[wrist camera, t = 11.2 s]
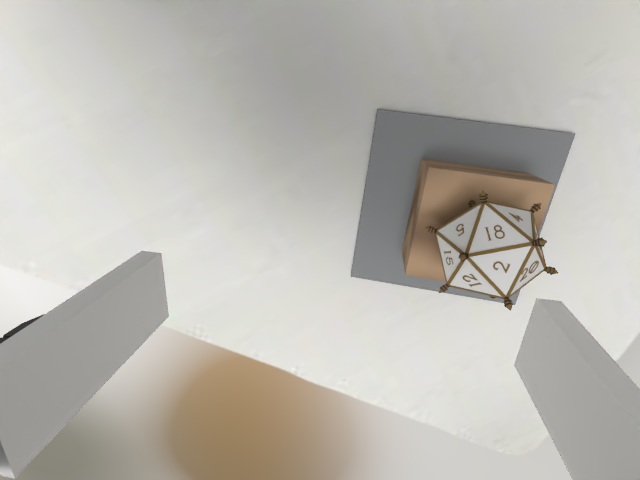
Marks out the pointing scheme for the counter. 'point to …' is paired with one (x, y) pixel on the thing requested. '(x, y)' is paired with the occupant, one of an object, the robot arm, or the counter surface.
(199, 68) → the counter surface
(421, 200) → the walnut block
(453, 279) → the game die
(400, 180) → the build mat
